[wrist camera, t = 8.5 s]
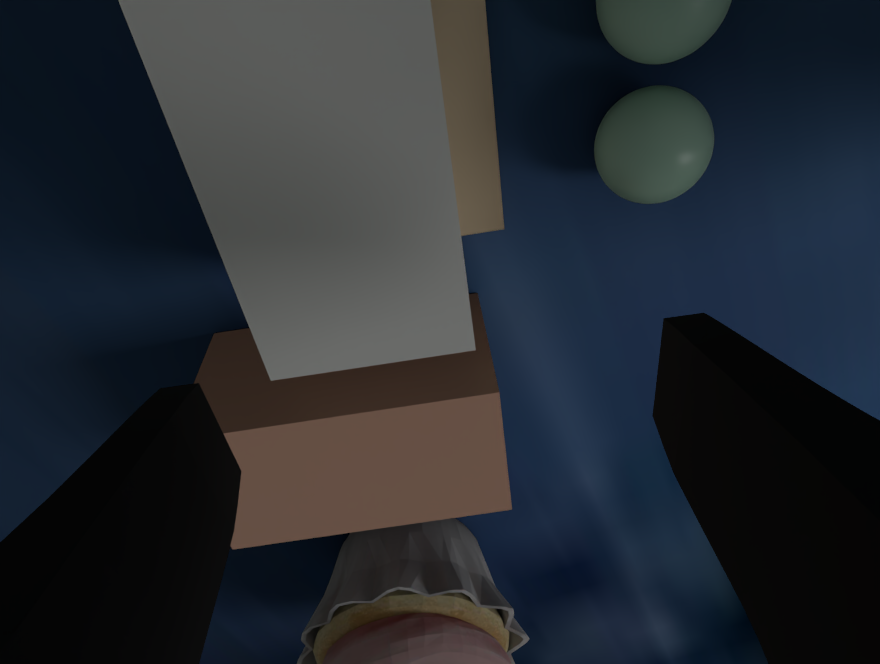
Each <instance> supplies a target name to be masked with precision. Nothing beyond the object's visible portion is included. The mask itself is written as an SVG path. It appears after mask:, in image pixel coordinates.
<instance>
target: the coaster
mask: <svg viewBox="0 0 880 664" xmlns="http://www.w3.org/2000/svg"><path fill="white" fill-rule="evenodd" d="M431 8H432V16H433V24H434V31H435V39H436V47H437V54H438V62H439V70H440V78H441V85H442V93H443V101H444V108H445V116H446V124H447V132H448V139H449V147H450V155H451V162H452V170H453V178H454V186H455V193H456V201H457V209H458V216H459V224H460V232H461V236H463V235H470V234H476V233H482V232H489V231H495V230H502V229H504V221H503V209H502V197H501V185H500V173H499V161H498V149H497V137H496V125H495V113H494V101H493V89H492V78H491V66H490V54H489V42H488V30H487V18H486V6H485V0H431Z"/></svg>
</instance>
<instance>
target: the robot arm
mask: <svg viewBox="0 0 880 664" xmlns="http://www.w3.org/2000/svg"><path fill="white" fill-rule="evenodd" d="M653 418H654V421H655V424H656V426H657V429H658V432H659V435H660V438H661V441H662V444H663V446H664V449H665V452H666V454H667V457H668V459H669V462H670V465H671V467H672V470H673V473H674V475H675V477H676V479H677V481H678V483H679V485H680V487H681V489H682V490H683V492H684V494H685V496H686V498H687V500H688V502H689V504H690V506H691V508H692V510H693V512H694V514H695V516H696V518H697V520H698V521H699V523H700V525H701V527H702V529H703V531H704V533H705V535H706V537H707V539H708V540H709V542H710V544H711V546H712V548H713V550H714V552H715V554H716V556H717V558H718V560H719V561H720V563H721V565H722V567H723V569H724V571H725V573H726V575H727V577H728V579H729V580H730V582H731V584H732V586H733V588H734V590H735V592H736V594H737V596H738V598H739V600H740V601H741V603H742V605H743V607H744V609H745V611H746V614H747V616H748V618H749V620H750V622H751V624H752V626H753V628H754V630H755V633H756V635H757V637H758V639H759V641H760V644H761V646H762V649H763V651H764V654H765V656H766V658H767V661H768V663H769V664H880V421H879V420H878V419H876V418H874V417H872V416H870V415H869V414H867V413H865V412H863V411H862V410H860V409H858V408H857V407H855V406H853V405H851V404H850V403H848V402H846V401H845V400H843V399H841V398H840V397H838V396H836V395H835V394H833V393H831V392H830V391H828V390H826V389H825V388H823V387H821V386H820V385H818V384H816V383H815V382H813V381H812V380H810V379H808V378H807V377H805V376H804V375H802V374H800V373H799V372H797V371H796V370H794V369H792V368H791V367H789V366H788V365H786V364H784V363H783V362H781V361H780V360H778V359H777V358H775V357H774V356H772V355H770V354H769V353H767V352H766V351H764V350H763V349H761V348H760V347H758V346H756V345H755V344H753V343H752V342H750V341H749V340H747V339H746V338H744V337H742V336H741V335H739V334H738V333H736V332H735V331H733V330H732V329H730V328H728V327H727V326H725V325H724V324H722V323H720V322H719V321H717V320H715V319H714V318H712V317H710V316H709V315H707V314H705V313H699V314H692V315H685V316H678V317H671V318H664V321H663V330H662V338H661V347H660V356H659V365H658V374H657V382H656V391H655V400H654V409H653ZM240 480H241V469H240V467H239V465H238V463H237V461H236V459H235V457H234V455H233V453H232V451H231V448H230V446H229V444H228V442H227V440H226V438H225V436H224V434H223V432H222V430H221V428H220V426H219V424H218V422H217V419H216V417H215V415H214V413H213V411H212V409H211V407H210V405H209V403H208V401H207V399H206V397H205V395H204V393H203V390H202V388H201V386H200V384H199V383H196V384H188V385H181V386H174V387H167V388H160V389H159V390H158V391H157V392H156V393H155V394H154V395H153V396H151V397H150V398H149V399H148V400H147V401H146V402H145V403H144V404H143V405H142V406H141V407H140V408H139V409H138V410H137V411H136V412H135V413H134V414H133V415H131V416H130V417H129V418H128V419H127V420H126V421H125V422H124V423H123V424H122V425H121V426H120V427H119V428H118V429H117V430H116V431H115V432H114V433H113V434H112V435H111V436H110V437H109V438H108V439H107V440H106V441H105V442H104V443H103V444H102V445H101V446H100V447H99V448H98V450H96V451H95V452H94V453H93V454H92V455H91V456H90V457H89V458H88V459H87V460H86V461H85V462H84V463H83V464H82V465H81V466H80V467H79V468H78V469H77V470H76V471H75V472H74V473H73V474H72V475H71V476H70V477H69V478H68V479H67V480H66V481H65V482H64V483H63V484H62V485H61V486H60V487H59V488H58V489H57V490H56V491H55V492H54V493H53V494H52V495H51V496H50V497H49V498H48V499H47V500H46V501H45V502H44V503H42V504H41V505H40V506H39V507H38V508H37V509H36V510H35V511H34V512H33V513H32V514H31V515H29V516H28V517H27V518H26V519H25V520H24V521H23V522H22V523H21V524H20V525H19V526H18V527H17V528H15V529H14V530H13V531H12V532H11V533H10V534H9V535H8V536H7V537H6V538H5V539H4V540H2V541H1V542H0V664H199V662H200V658H201V654H202V651H203V647H204V643H205V639H206V636H207V632H208V628H209V625H210V621H211V617H212V613H213V610H214V606H215V602H216V599H217V595H218V591H219V587H220V584H221V580H222V576H223V572H224V568H225V565H226V561H227V557H228V553H229V549H230V545H231V541H232V537H233V533H234V528H235V521H236V514H237V507H238V498H239V489H240Z"/></svg>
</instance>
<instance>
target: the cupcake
mask: <svg viewBox="0 0 880 664" xmlns="http://www.w3.org/2000/svg"><path fill="white" fill-rule="evenodd" d="M513 616H514V610H513V608H512V607H511V606H510V604H509V603H508V602H507V601H506V599H505V598H504V597H503V596H502V594H501V593H500V592H499V591H498V589H497V588H496V587H495V585H494V582H493V579H492V577H491V574H490V572H489V569H488V567H487V564H486V562H485V559H484V557H483V554H482V552H481V549H480V547H479V545H478V542H477V540H476V538H475V537H474V536H473V534H472V533H471V532H470V531H469V530H468V528H467V527H466V526H465V525H464V524H462V523H461V522H460V521H458V520H457V519H455V518H450V519H443V520H436V521H429V522H422V523H415V524H408V525H401V526H394V527H387V528H380V529H373V530H366V531H359V532H352V533H350V534H349V536H348V537H347V539H346V540H345V541H344V543H343V545H342V547H341V550H340V552H339V555H338V558H337V561H336V564H335V567H334V570H333V573H332V576H331V579H330V581H329V584H328V586H327V589H326V591H325V594H324V596H323V598H322V600H321V601H320V603H319V605H318V607H317V608H316V610H315V612H314V614H313V615H312V617H311V619H310V621H309V623H308V624H307V626H306V628H305V630H304V631H303V633H302V638H301V641H302V642H303V643H304V644H305V645H306V646H305V648H304V650H303V652H302V654H301V656H300V658H299V660H298V662H297V664H515V662H514V660H513V658H512V656H511V653H512V652H514V651H515V650H517V649H518V648H520V647H521V646H523V645H524V644H525V643H526V642H527V641H528V640H529V639H530V638H529V637H528V636H527V634H526V633H525V632H524V631H523V629H522V628H521V627H520V625H519V624H518V623H517V621H516V620H515V619H514V617H513Z"/></svg>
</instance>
